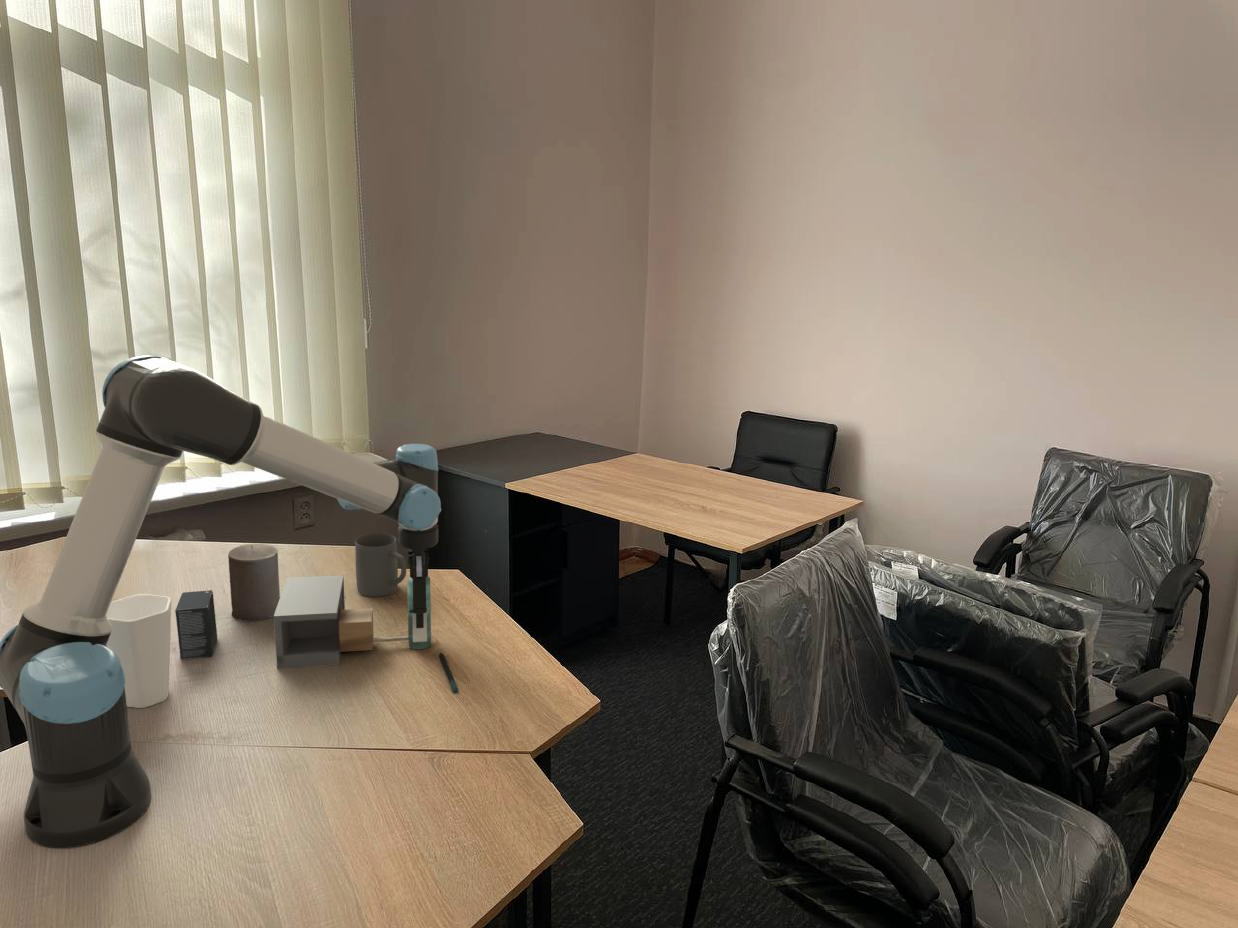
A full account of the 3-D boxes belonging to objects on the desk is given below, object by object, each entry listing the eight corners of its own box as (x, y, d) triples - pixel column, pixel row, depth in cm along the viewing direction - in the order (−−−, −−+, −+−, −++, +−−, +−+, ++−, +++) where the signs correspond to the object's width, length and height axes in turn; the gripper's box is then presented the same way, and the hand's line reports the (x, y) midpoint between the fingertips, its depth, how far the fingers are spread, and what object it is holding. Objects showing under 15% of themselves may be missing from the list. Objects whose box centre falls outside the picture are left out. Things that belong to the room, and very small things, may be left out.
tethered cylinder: (431, 650, 171) (430, 584, 167) (340, 656, 167) (337, 589, 163) (430, 636, 176) (429, 572, 173) (342, 642, 172) (339, 576, 169)
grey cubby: (338, 664, 164) (336, 612, 161) (277, 668, 161) (273, 616, 159) (345, 622, 181) (343, 575, 178) (289, 625, 178) (286, 577, 176)
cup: (118, 685, 153) (107, 596, 149) (182, 677, 157) (173, 590, 152) (106, 718, 143) (94, 624, 139) (175, 709, 147) (165, 617, 142)
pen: (443, 654, 170) (443, 649, 170) (458, 694, 156) (458, 688, 156) (437, 655, 170) (437, 650, 170) (452, 695, 156) (452, 689, 156)
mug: (348, 590, 196) (345, 541, 193) (378, 578, 204) (377, 530, 201) (391, 606, 189) (389, 555, 186) (420, 592, 197) (420, 543, 194)
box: (186, 641, 170) (181, 591, 167) (217, 638, 172) (213, 589, 169) (179, 660, 163) (174, 608, 160) (212, 657, 164) (208, 606, 162)
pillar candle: (221, 617, 181) (216, 550, 177) (251, 598, 190) (247, 534, 186) (262, 624, 179) (258, 557, 174) (290, 605, 188) (287, 541, 184)
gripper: (439, 539, 159) (440, 654, 165) (436, 509, 175) (437, 614, 182) (397, 540, 157) (400, 656, 163) (398, 510, 174) (400, 617, 180)
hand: (419, 634), depth 173 cm, fingers closed on tethered cylinder, 4 cm apart
